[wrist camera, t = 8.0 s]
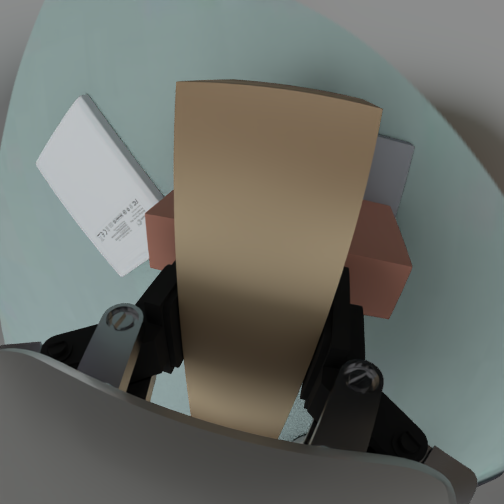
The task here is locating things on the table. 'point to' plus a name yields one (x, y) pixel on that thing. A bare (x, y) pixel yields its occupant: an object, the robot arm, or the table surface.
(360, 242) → the fulcrum board
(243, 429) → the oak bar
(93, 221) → the external hard drive
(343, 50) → the table surface
